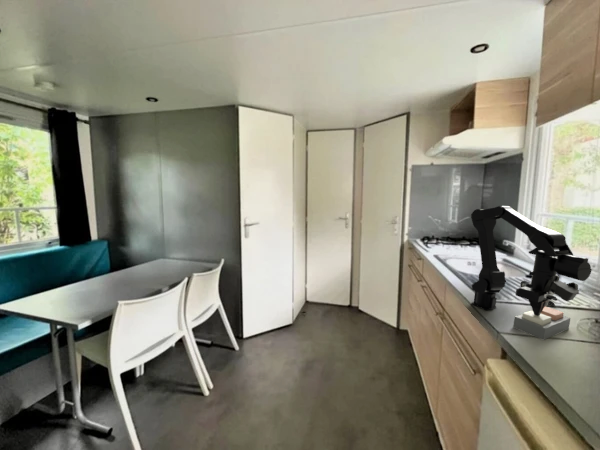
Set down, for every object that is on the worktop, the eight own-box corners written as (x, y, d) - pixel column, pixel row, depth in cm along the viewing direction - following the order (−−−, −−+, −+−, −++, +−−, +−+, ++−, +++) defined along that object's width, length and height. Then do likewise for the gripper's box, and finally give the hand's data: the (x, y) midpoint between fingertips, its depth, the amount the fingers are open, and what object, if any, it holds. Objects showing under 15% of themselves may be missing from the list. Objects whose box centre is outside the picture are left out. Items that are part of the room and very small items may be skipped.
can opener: (514, 290, 133) (516, 278, 132) (529, 290, 133) (531, 279, 132) (545, 306, 115) (547, 293, 115) (562, 307, 115) (565, 294, 114)
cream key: (520, 325, 96) (522, 313, 95) (529, 322, 98) (531, 310, 97) (540, 333, 91) (543, 320, 90) (549, 329, 93) (551, 317, 92)
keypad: (513, 327, 96) (514, 316, 96) (538, 317, 104) (540, 307, 104) (543, 340, 89) (545, 328, 88) (568, 329, 97) (570, 318, 96)
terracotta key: (534, 320, 99) (536, 308, 99) (542, 317, 102) (543, 305, 101) (553, 327, 94) (555, 315, 94) (561, 324, 97) (563, 312, 96)
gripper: (562, 282, 80) (553, 332, 82) (590, 274, 88) (581, 320, 91) (518, 270, 90) (511, 316, 92) (547, 264, 98) (539, 306, 101)
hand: (536, 315), depth 94 cm, fingers closed, pressing on cream key
